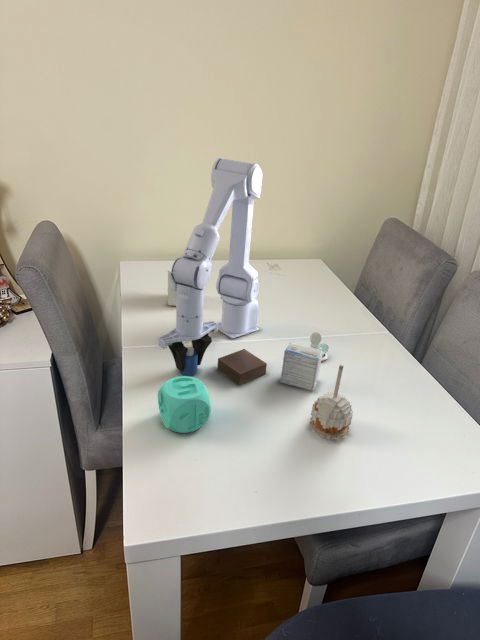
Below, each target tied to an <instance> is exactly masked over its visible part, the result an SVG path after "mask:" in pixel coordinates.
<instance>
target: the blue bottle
mask: <svg viewBox="0 0 480 640" xmlns="http://www.w3.org/2000/svg"><path fill="white" fill-rule="evenodd" d="M185 347H186V348H188V351H187V353H186V357H185V369H184V371H182V372H181V371H180V370H179V373H180V375H181V376H190V377H194V376H195V375H196V374H197V373H198V366H199V365H198V353H197V352H196V351H195V350H194V348H193V347H192V346H185Z"/></svg>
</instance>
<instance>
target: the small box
mask: <svg viewBox="0 0 480 640" xmlns="http://www.w3.org/2000/svg"><path fill="white" fill-rule="evenodd" d="M171 271H172V267H171V268H170V269H169V270H167V305H168V306H173V307H176V291H175V290H174V284H173V282H172V280H171V274H170V273H171Z"/></svg>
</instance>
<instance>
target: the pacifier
mask: <svg viewBox="0 0 480 640" xmlns="http://www.w3.org/2000/svg"><path fill="white" fill-rule="evenodd" d="M309 340H310V346H309V347H310V348H314V349H318V350H322V351H323V354H322V360H321V362H324V361H326V360H328V359H329V354H327V353H328V351H329V345H328V344H326V343H321V342H322V340H323V337H322V334H321V333H320V332H318V331H314V332H312V334H311V335H310V337H309Z"/></svg>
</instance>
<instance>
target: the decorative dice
mask: <svg viewBox="0 0 480 640" xmlns="http://www.w3.org/2000/svg"><path fill="white" fill-rule="evenodd" d="M210 399H211V398H210V395H209V391H208V389H207V387H206V385H205V383H204V382H203V381H201V380H200V379H199V378H196V377H194V376H184V375H180V376H179V375H178V376H174V377H172V378H170V379H168V380H167V381H165V382H164V383H163V384H162V385H161V387H160V388H159V389H158V391H157V405H158V410H159V415H160V418H161V421H162V423H163V425H164V427H165V428H166V429H167V430H169V431H171V432H174V433H178V434H179V433H180V434H187V433H192V432H195V431H197V430H198V429H201V428H202V427H203V426H204V425H205V424H206V423H207V421H208V420H209V418H210V417H211V409H212V407H211V400H210Z"/></svg>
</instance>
